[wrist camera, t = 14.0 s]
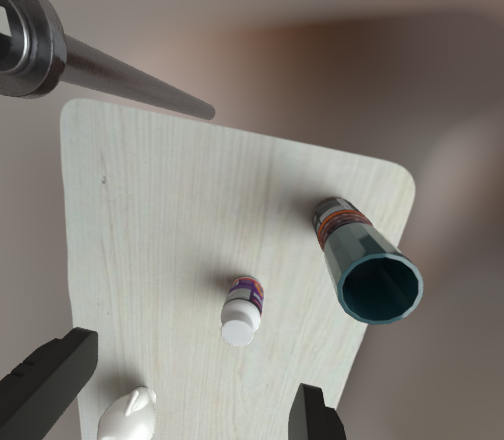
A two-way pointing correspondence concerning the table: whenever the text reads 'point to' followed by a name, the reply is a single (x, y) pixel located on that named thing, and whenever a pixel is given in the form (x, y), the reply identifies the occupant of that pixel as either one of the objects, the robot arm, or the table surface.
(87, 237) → the table surface
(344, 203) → the supplement bottle
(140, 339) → the table surface
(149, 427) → the teapot
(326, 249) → the cup
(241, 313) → the pill bottle
